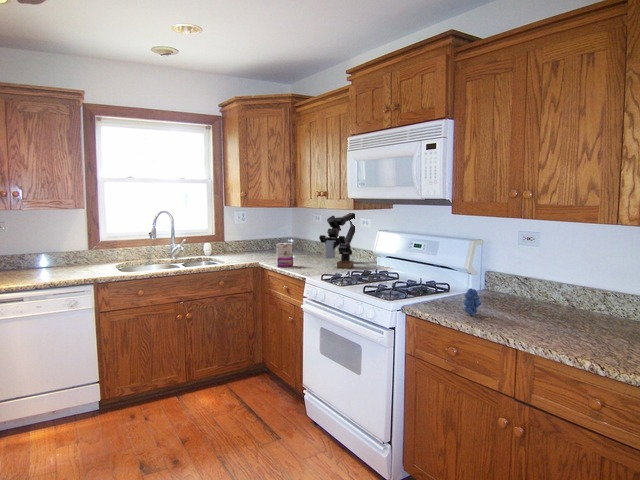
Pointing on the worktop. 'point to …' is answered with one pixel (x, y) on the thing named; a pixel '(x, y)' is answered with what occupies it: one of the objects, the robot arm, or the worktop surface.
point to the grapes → (471, 301)
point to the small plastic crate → (330, 249)
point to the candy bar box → (285, 255)
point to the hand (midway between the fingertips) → (329, 248)
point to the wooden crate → (345, 264)
